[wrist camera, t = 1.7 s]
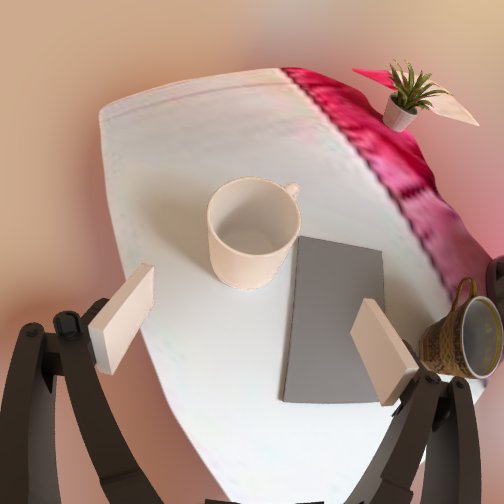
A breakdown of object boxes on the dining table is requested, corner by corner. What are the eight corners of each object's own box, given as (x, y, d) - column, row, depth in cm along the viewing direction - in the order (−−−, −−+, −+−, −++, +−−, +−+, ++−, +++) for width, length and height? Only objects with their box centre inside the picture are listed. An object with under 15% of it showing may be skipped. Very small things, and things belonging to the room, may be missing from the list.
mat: (376, 401, 27) (379, 401, 26) (282, 401, 27) (283, 402, 26) (379, 253, 35) (381, 251, 35) (298, 237, 35) (299, 235, 34)
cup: (195, 258, 32) (186, 213, 23) (261, 199, 37) (274, 146, 27) (247, 306, 31) (258, 278, 21) (309, 238, 35) (338, 192, 26)
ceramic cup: (455, 377, 29) (505, 369, 20) (408, 389, 28) (462, 387, 19) (450, 295, 34) (494, 273, 25) (404, 295, 33) (452, 269, 24)
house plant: (418, 122, 52) (447, 75, 37) (426, 157, 46) (466, 104, 32) (367, 98, 53) (392, 44, 38) (369, 129, 47) (402, 66, 32)
